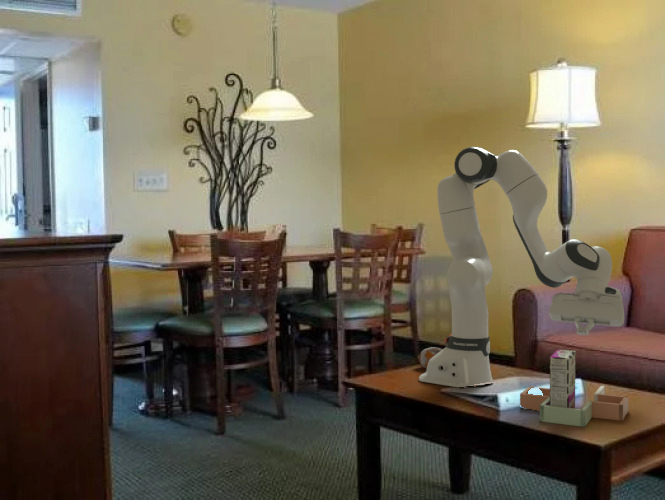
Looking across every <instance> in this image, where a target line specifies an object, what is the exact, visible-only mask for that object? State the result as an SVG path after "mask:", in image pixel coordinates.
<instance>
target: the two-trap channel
mask: <svg viewBox="0 0 665 500" xmlns="http://www.w3.org/2000/svg"><path fill="white" fill-rule="evenodd" d="M534 387H535V386H528V387H527V388H526V389H524V390H523V391H522V392H520V394H519V406H520V405H521V406H522V407H524V408H527V409H532V410H531V411H534V410H537V411H536V412H539V422H543V423H549V424H550V423H551V424H557V425H558V424H559V425H567V426H575V427H582V428H585V427H586V426H587V425H588V423H589V422H590V421H591V419H592V418H594V419H595V418H596V419H603V420H612V421H621V422H623V421H624V420H625V418H626V416H627V415H628V413H629V396H623V395H614V394H605V390H606V388H605V385H600V387H598V388H597V390H596V391H595V392H594V393H593V400H588V401H587V402H586V403H585V404H584V406H583V407H582V408H575V409H574V408H565V407H557V406H550V387H547V388H546V387H539V389H540V390H541V391H542V393H543V396H542V395H533V394H528V391H529V390H530V389H531V388H534Z"/></svg>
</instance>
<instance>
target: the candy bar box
mask: <svg viewBox="0 0 665 500" xmlns="http://www.w3.org/2000/svg"><path fill="white" fill-rule="evenodd" d="M549 389H550V406H557V407H565V408H574V409H576V350H569V349H568V350H567V349H557V350H556V351H554V353H553V354H552V355H550V357H549Z"/></svg>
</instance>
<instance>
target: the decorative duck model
mask: <svg viewBox="0 0 665 500" xmlns="http://www.w3.org/2000/svg"><path fill="white" fill-rule="evenodd" d="M443 349H444V348H441V347H436V346H435V347H434V346H433V347H432V346H431V347H427V348H425V349H422V351H421V352H420V353H419V354H418V355H417V359H418V362H419V363H420V365H421V366H422V367H423V368H425V369H427V366H428V362H429V360H430V359H431V358H432V357H433V356H435V355H436V354H437V353H439V352H440V351H441V350H443Z"/></svg>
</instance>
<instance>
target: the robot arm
mask: <svg viewBox="0 0 665 500" xmlns="http://www.w3.org/2000/svg"><path fill="white" fill-rule="evenodd" d="M491 180H492V181H494V182H496V183H497V184H498V185H499V186H500V187H501V189H502V190H503V192H504V194H505V195H506V197H507V199H508V201H509V202H510V205H511V207H512V213H513V214H512V221H513V224H514V227H515V229H516V231H517V233H518V236H519V238H520V241H521V242H522V244H523V246H524V248H525V250H526V252H527V254H528V256H529V258H530V261H531V263H532V265H533V270H534V272H535V275H536V277H537V279H538V280H539V281H540V283H542V284H544V286H547V287H550V288H555V289H556V288H560V287H561V286H563V285H564V284H565V283H566V282H567V281H568V280H571V279H572V278H576V280H577V281H576V285H575V289H574V293H573V292H558V293H556V294H554V295H553V296H552V297H551V298H552V299H551V305H550V308H549V310H548V314H549V317H550V319H551V321H554V322H567V323H574V325H575V328H576V334H577V335H582V336H589V332H590V331H591V330H592V329H593V328H595V325H599V326H607V327H621V326H623V325H624V322H625V311H624V302H623V296H622V295H623V294H622V292H621V290H619V289H618V288H614V287H612V286H608V284H609V282H610V280H611V277H612V276H611V275H612V269H613V262H612V261H613V260H612V256H611V254H610V251H608V250H607V249H606V248H604V247H601V246H597V245H595V246H591V245H589V244H588V243H587V242H584V241H582V240H580V239H576V238H573V239H569V240H567V241H566V242H564V243H562V244H561V245H559V246H558V247H557V248H555V249H554V250H552V251H549V249H548V247H547V245H546V243H545V242H544V239H543V238H542V235H541V233H540V232H539V229H538V219H539V217H540V214H541V212H542V210H543V208H544V207H545V205H546V202H547V199H548V189H547V186H546V184H545V182H544V180H543V179H542V177H541V176H540V174H539V173H538V172H537V170H536V169H535V168H534V166H533V165H532V164H531V162H530V161H529V160H528V159H527V158H526V157H525V156H524V155H523V154H522V153H521V152H519V151H518V150H514V149H509V150H506V151H504V152H501V153H500V154H497V155H495V154H493V153H491V152H490V151H488V150H487V149H486V148H483V147H477V146H469V147H466V148H463V149H461V151H460V152H458V154H457V155H456V157H455V160H454V174H452V175H448V176H445V177H444V178H442V179H441V180H440V181H439V182H438V184H437V204H438V205H437V207H438V213H439V217H440V222H441V227H442V231H443V237H444V240H445V241H444V242H445V243H446V244H447V247H448V249H449V251H450V253H451V256H452V259H453V261H452V262H451V263H450V265H449V266H448V268H447V271H446V280H447V283H448V292H449V300H450V306H451V334H449V335H448V336H447V337H445V339H444V341H443V343H445V347H444V348H442V349H443V350H441V351H440V352H439V353H437V354H436V355H435V356H433V357H432V358H431V359H430V360H429V362H428V366H427V368H426V370H425V372H424V373H421V374H420V375H419V378H418V379H419V381H420V382H421V383H422V382H423V383H430V384H435V385H442V386H447V387H448V386H449V387H452V388H459V387H464V386H469V385H474V384H480V383H486V382H492V381H493V382H494V379H493V377H492V376H493V375H492V372H491V364H490V358H489V357H490V356H489V355H490V353H491V352H490V351H491V341H490V336H489V308H488V304H487V298H486V297H487V295H486V286H487V285H489V283H490V282H491V280H492V278H493V274H494V269H493V265H492V263H491V260H490V256H489V253H488V250H487V247H486V244H485V241H484V238H483V235H482V231H481V228H480V226H481V225H480V222H479V218H478V213H477V207H476V203H475V198H474V190H476V189H477V188H479V187H481V186H483V185H485V184H487V183H488V182H490V181H491ZM582 324H585V325H586V324H587V325H586V326H581V325H582ZM464 388H465V387H464Z"/></svg>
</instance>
